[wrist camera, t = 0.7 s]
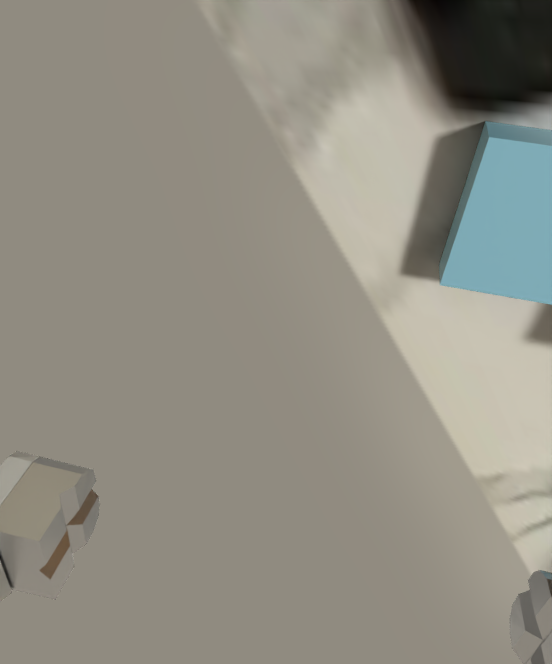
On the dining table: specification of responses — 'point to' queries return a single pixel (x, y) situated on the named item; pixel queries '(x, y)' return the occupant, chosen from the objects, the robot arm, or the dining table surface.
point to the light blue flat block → (504, 217)
